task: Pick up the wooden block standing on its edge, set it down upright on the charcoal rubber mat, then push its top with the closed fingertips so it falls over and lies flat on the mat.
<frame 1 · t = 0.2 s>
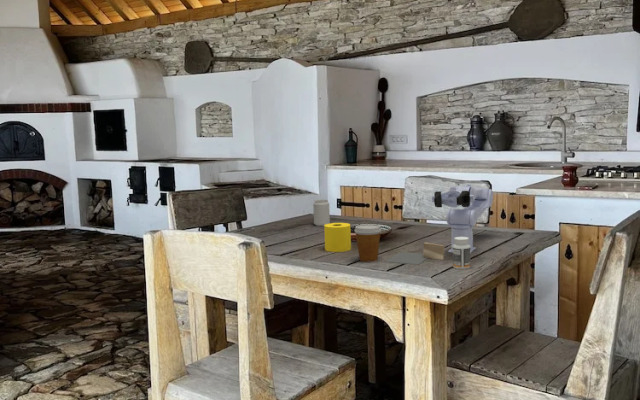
hand: (446, 201, 206), 21 cm above the table, tool horizontal, fingers open, 7 cm apart
yellow toilet paper roll: (338, 249, 237), on the table
wooden block: (433, 258, 216), on the table, touching mat
disposable coffee cup: (368, 260, 217), on the table
pill bottle: (461, 268, 202), on the table
can: (321, 225, 291), on the table
mat: (409, 258, 216), on the table
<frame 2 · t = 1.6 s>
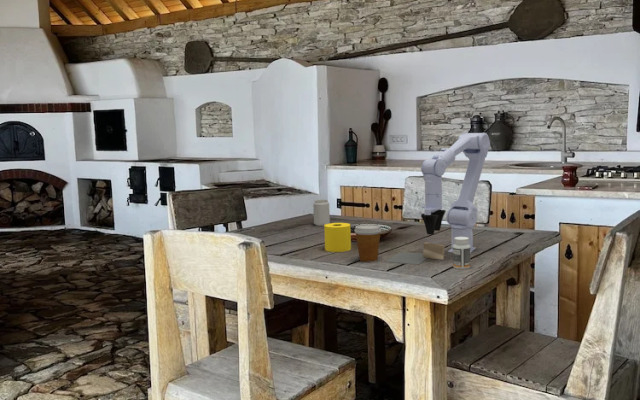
hand: (433, 232, 214), 9 cm above the table, tool pointing down, fingers open, 7 cm apart
nothing on the table moved.
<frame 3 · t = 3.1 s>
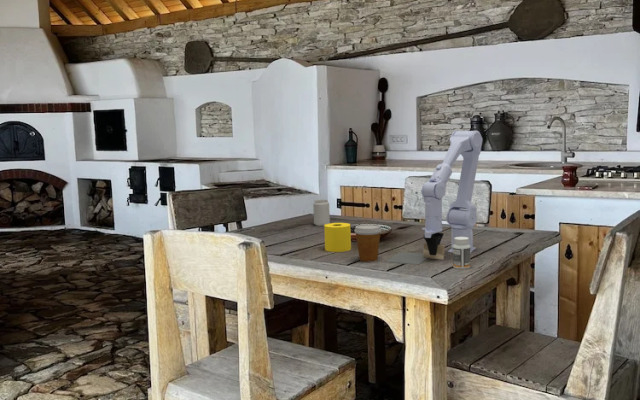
hand: (433, 254, 215), 2 cm above the table, tool pointing down, fingers closed on wooden block, 2 cm apart
wooden block: (433, 258, 216), on the table, touching gripper, mat
everything else where it was.
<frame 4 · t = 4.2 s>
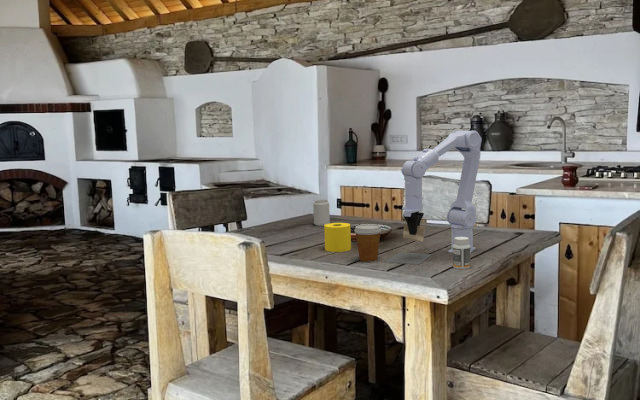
hand: (413, 234, 214), 9 cm above the table, tool pointing down, fingers closed on wooden block
wooden block: (413, 239, 215), point 7 cm above the table, tilted 5°, touching gripper
everything else where it was.
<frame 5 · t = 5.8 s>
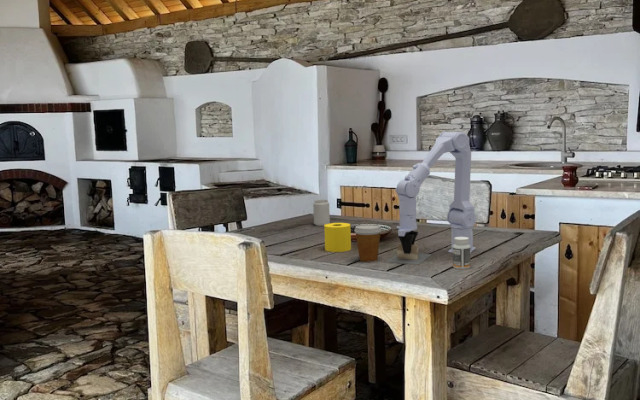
hand: (408, 252, 215), 2 cm above the table, tool pointing down, fingers closed on wooden block, 2 cm apart
wooden block: (407, 258, 216), resting on mat, touching gripper
everything else where it was.
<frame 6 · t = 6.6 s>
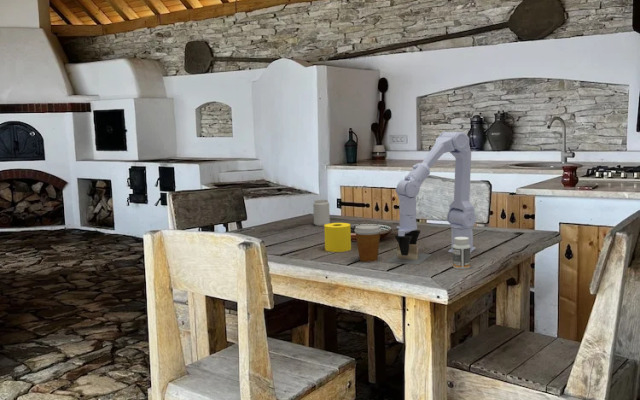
hand: (408, 252, 215), 2 cm above the table, tool pointing down, fingers open, 7 cm apart
wooden block: (407, 258, 216), resting on mat
everything else where it was.
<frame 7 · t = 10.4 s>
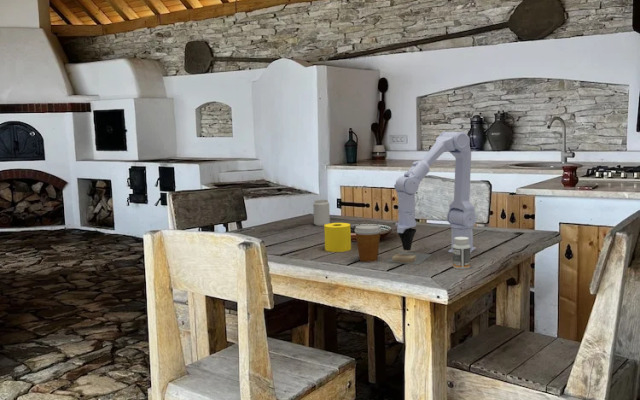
hand: (407, 249, 214), 4 cm above the table, tool pointing down, fingers closed
wooden block: (406, 256, 215), point 1 cm above the table, tilted 90°, touching mat
everything else where it was.
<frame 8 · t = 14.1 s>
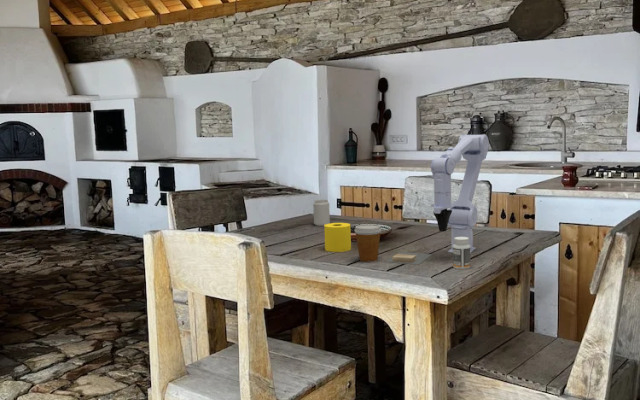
hand: (442, 231, 214), 10 cm above the table, tool pointing down, fingers closed
nothing on the table moved.
at the end: wooden block tilted 90°; wooden block inside the target area on the mat (1.4 cm from its centre), point 1.2 cm above the mat's base; the gripper is holding nothing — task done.
